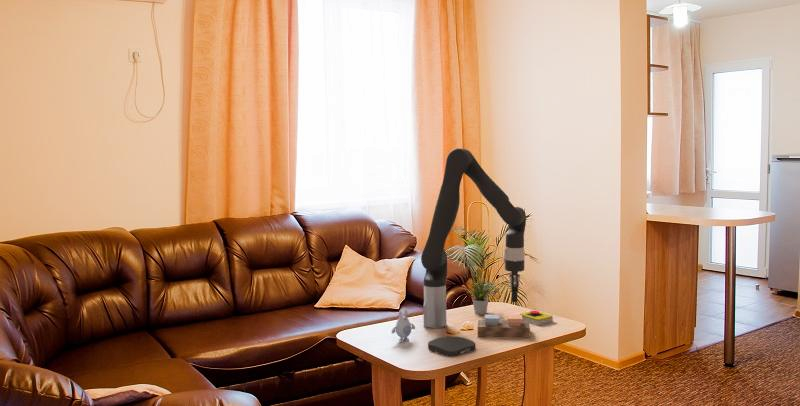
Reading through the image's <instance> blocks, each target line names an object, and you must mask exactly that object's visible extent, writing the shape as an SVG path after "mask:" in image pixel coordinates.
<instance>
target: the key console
mask: <svg viewBox="0 0 800 406" xmlns="http://www.w3.org/2000/svg"><path fill="white" fill-rule="evenodd" d="M530 327H531V326H530V323H529V321H522V323H521V326H509V323H508V319H503V320H502V319H499V323H498V325H486V322H485V319H478V321H477V338H506V339H507V338H510V339H511V338H512V339H531V328H530Z"/></svg>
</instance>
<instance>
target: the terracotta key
mask: <svg viewBox="0 0 800 406" xmlns="http://www.w3.org/2000/svg"><path fill="white" fill-rule="evenodd" d="M507 320H508V323H509V326H521V323H522V315H520V314H507Z"/></svg>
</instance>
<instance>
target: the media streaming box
mask: <svg viewBox="0 0 800 406" xmlns="http://www.w3.org/2000/svg"><path fill="white" fill-rule="evenodd" d="M427 348H428V351H430V352H433V353H436V354H439V355H441V356H444V357H453V358H454V357H459V356H462V355H465V354H469V353H471V352H474V351H476V348H477V347H476V342H474V341H473V340H471V339H469V338H466V337H462V336H441V337H437V338H435V339H432V340H430V341H429V342H428V343H427Z"/></svg>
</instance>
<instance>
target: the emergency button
mask: <svg viewBox="0 0 800 406" xmlns="http://www.w3.org/2000/svg"><path fill="white" fill-rule="evenodd" d="M519 315H522V321H529V325H530V324H531V325H533V326H537V327H540V328H545V327H549V326H554V325H556V324H557V322H555V321H554V319H553V315H551V314H548V313H544V312H540V311H539V310H530V311H526V312H521V313H519Z"/></svg>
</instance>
